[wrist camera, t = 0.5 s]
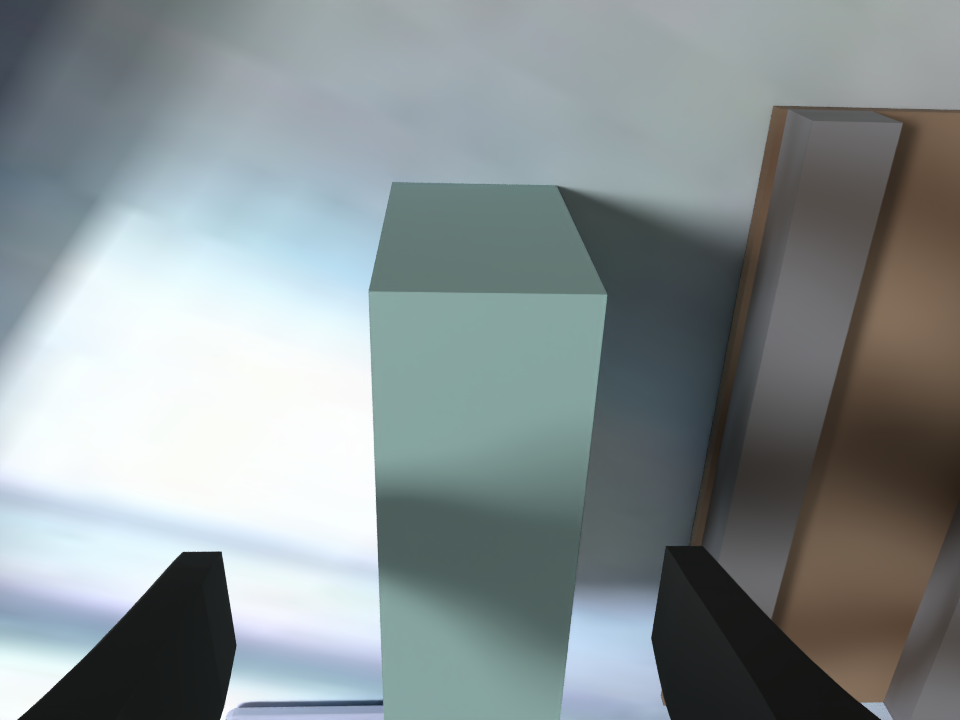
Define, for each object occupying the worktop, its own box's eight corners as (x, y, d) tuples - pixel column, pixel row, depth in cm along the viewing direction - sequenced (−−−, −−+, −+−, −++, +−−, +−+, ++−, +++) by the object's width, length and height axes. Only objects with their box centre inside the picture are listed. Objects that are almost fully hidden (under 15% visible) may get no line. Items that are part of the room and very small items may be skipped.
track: (937, 691, 29) (967, 736, 27) (660, 695, 28) (673, 741, 26) (1178, 115, 19) (1244, 130, 18) (773, 105, 19) (803, 120, 17)
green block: (527, 561, 25) (554, 762, 19) (399, 561, 25) (385, 765, 19) (555, 184, 20) (607, 294, 13) (392, 181, 20) (369, 291, 13)
